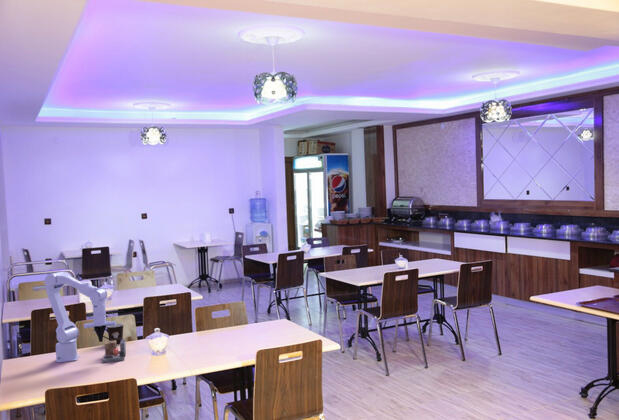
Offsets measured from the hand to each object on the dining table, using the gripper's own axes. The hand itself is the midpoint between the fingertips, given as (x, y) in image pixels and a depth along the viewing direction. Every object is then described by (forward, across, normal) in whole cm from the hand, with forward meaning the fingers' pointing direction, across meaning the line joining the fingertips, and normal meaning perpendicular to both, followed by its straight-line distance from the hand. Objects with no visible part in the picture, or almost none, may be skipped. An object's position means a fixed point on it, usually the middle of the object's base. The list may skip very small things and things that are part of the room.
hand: (101, 341), depth 278 cm
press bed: (+10, +5, +4) cm, 12 cm away
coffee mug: (+10, +2, +33) cm, 34 cm away
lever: (+8, +7, -2) cm, 11 cm away
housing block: (+8, +4, +7) cm, 11 cm away
